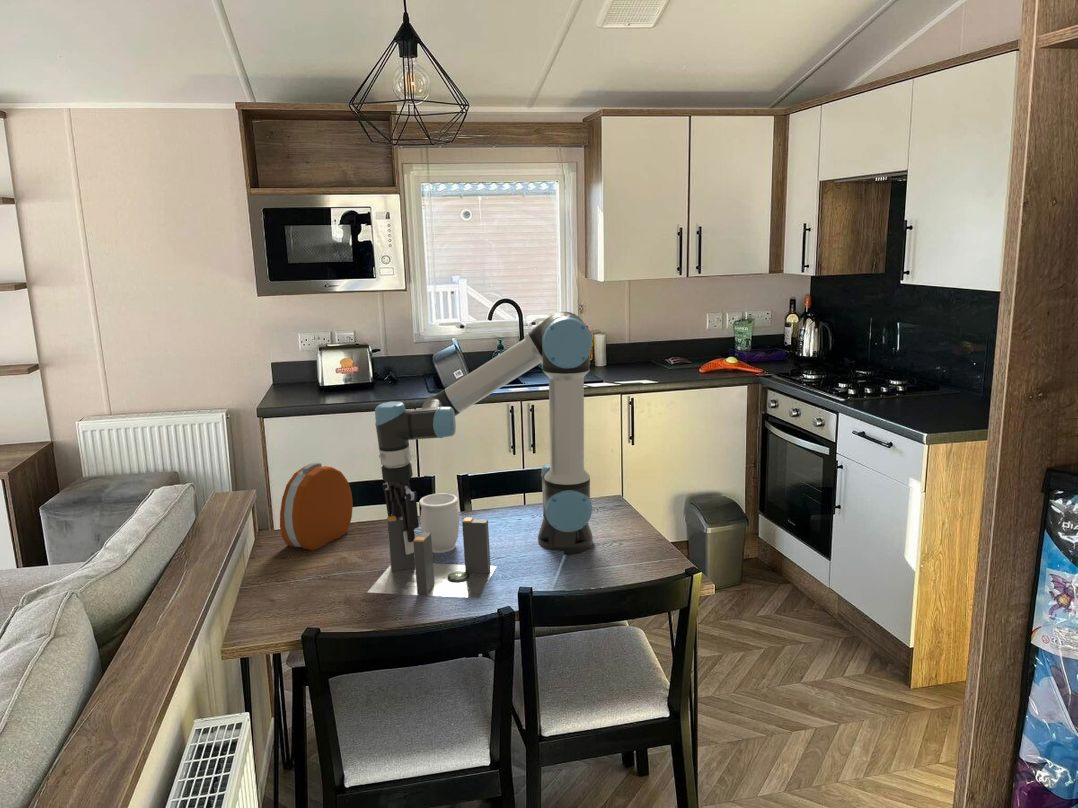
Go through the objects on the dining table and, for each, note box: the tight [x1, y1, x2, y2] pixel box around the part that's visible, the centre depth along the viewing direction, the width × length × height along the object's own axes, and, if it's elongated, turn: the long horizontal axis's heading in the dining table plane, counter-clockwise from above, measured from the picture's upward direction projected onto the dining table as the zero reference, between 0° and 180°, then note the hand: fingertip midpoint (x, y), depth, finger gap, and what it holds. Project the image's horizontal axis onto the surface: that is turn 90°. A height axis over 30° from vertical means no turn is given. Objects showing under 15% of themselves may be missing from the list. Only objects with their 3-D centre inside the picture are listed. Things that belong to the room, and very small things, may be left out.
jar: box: [419, 492, 460, 554], centre depth 223 cm, size 11×10×15 cm
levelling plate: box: [367, 563, 497, 599], centre depth 204 cm, size 28×18×2 cm, turn 79°
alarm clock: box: [279, 462, 354, 551], centre depth 234 cm, size 22×10×23 cm, turn 153°
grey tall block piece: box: [461, 516, 491, 573], centre depth 206 cm, size 6×2×14 cm, turn 79°
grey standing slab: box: [413, 531, 435, 596], centre depth 197 cm, size 6×2×14 cm, turn 170°
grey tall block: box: [386, 516, 415, 571], centre depth 210 cm, size 6×2×14 cm, turn 106°
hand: (406, 549), depth 210 cm, fingers closed on grey tall block, 4 cm apart
